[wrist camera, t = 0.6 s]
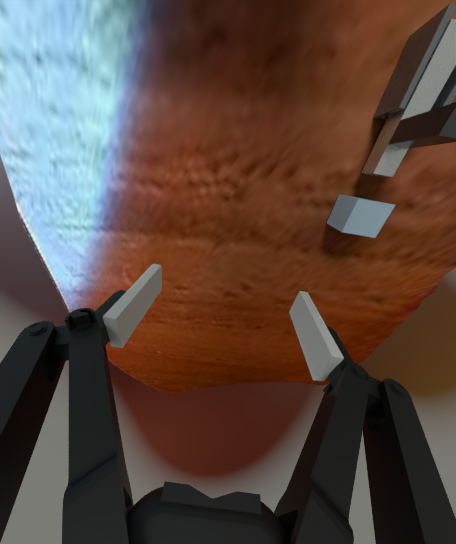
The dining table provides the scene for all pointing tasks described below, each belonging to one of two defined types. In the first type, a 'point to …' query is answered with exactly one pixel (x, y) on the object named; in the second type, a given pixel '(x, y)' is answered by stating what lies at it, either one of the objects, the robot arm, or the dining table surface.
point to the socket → (359, 215)
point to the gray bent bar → (419, 113)
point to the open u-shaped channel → (417, 67)
